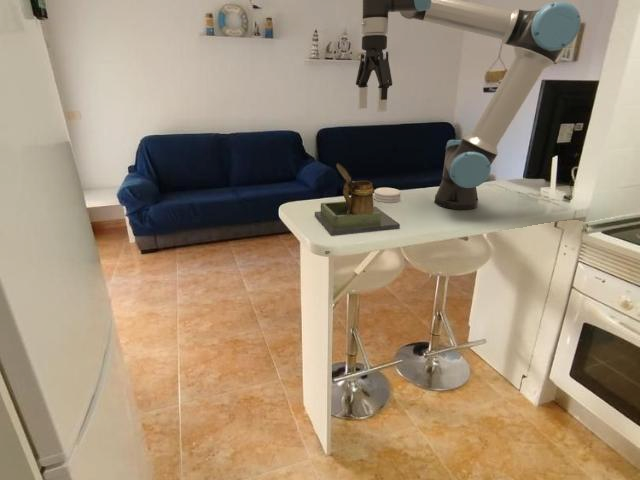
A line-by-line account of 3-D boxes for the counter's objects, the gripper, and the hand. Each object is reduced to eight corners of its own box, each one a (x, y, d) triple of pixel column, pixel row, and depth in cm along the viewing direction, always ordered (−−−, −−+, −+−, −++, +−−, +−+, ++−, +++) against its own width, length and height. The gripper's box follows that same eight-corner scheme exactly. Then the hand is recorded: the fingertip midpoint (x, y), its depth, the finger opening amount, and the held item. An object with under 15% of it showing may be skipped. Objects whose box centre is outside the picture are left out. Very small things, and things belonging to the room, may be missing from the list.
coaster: (390, 194, 156) (391, 186, 155) (405, 201, 148) (406, 192, 146) (368, 197, 152) (369, 188, 151) (382, 204, 144) (383, 195, 142)
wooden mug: (329, 216, 126) (330, 160, 119) (366, 211, 131) (369, 157, 124) (341, 225, 119) (343, 166, 112) (380, 219, 124) (384, 162, 117)
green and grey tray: (375, 210, 137) (376, 196, 135) (399, 228, 121) (401, 213, 119) (314, 216, 131) (314, 201, 129) (331, 235, 115) (331, 219, 113)
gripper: (346, 38, 127) (345, 107, 136) (383, 30, 106) (379, 113, 114) (367, 39, 130) (365, 106, 138) (407, 31, 108) (402, 112, 116)
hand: (371, 109), depth 126 cm, fingers open, 13 cm apart
